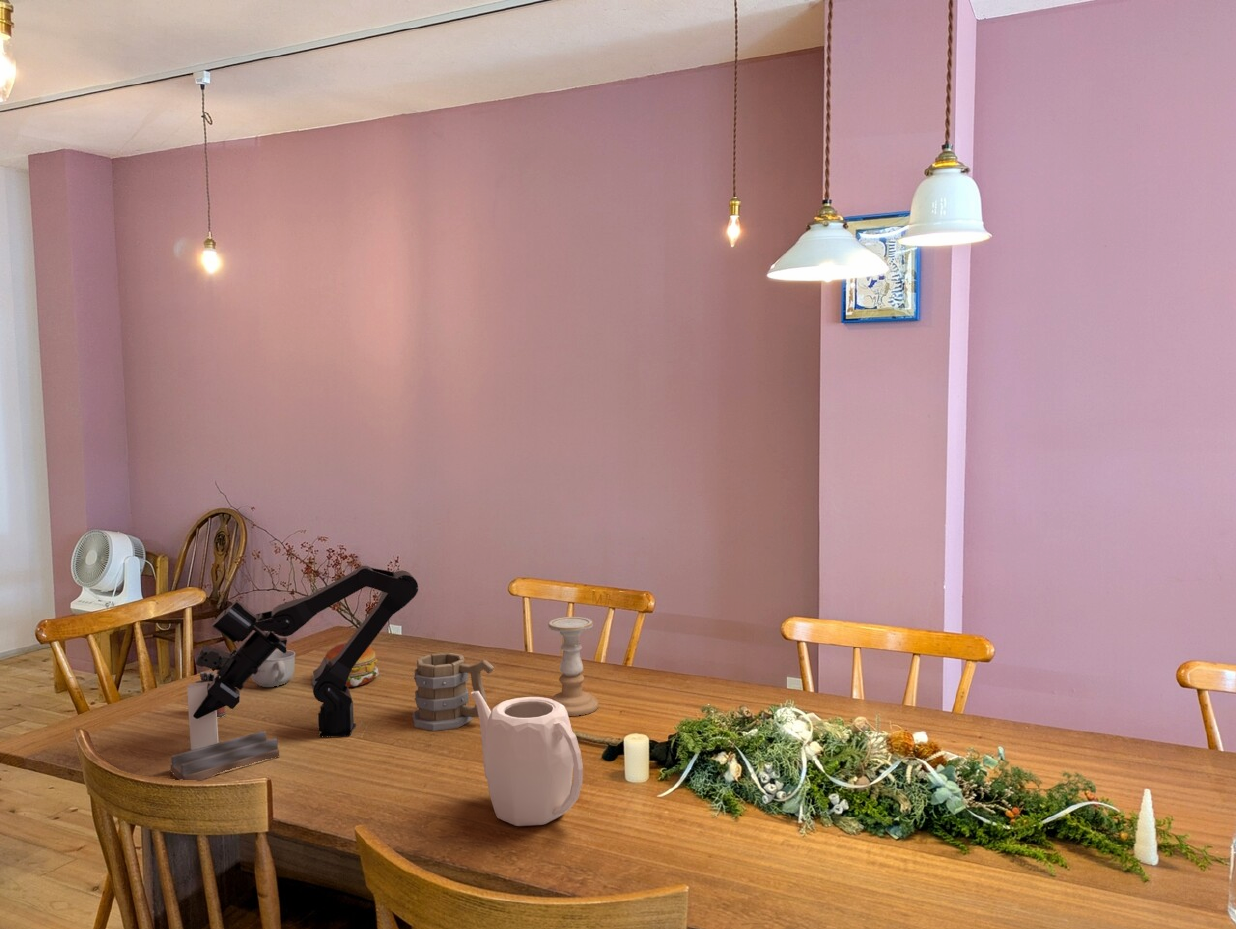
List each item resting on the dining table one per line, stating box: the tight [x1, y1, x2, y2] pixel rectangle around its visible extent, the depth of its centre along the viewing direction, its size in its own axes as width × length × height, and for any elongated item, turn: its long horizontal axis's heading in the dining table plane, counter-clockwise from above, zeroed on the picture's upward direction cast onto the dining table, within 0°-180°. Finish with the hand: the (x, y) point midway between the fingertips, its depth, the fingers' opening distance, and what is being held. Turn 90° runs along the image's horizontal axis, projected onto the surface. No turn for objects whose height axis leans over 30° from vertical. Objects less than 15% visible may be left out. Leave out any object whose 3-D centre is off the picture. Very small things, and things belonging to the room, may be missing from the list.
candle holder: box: [547, 616, 600, 717], centre depth 205 cm, size 12×12×20 cm
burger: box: [324, 642, 379, 688], centre depth 227 cm, size 14×14×10 cm
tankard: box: [412, 652, 495, 732], centre depth 197 cm, size 20×13×15 cm, turn 62°
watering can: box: [470, 690, 584, 827], centre depth 154 cm, size 16×27×19 cm, turn 50°
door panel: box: [186, 681, 219, 751], centre depth 182 cm, size 5×2×13 cm, turn 111°
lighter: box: [195, 670, 227, 717], centre depth 204 cm, size 8×3×10 cm, turn 62°
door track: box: [170, 730, 280, 781], centre depth 176 cm, size 18×8×4 cm, turn 134°
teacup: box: [250, 649, 296, 688], centre depth 224 cm, size 14×11×8 cm
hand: (195, 715), depth 182 cm, fingers closed on door panel, 2 cm apart
